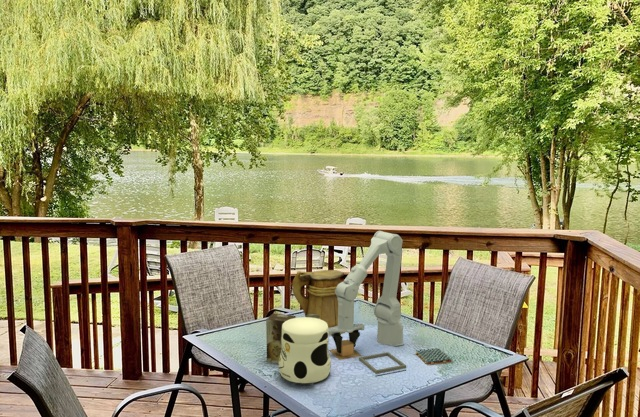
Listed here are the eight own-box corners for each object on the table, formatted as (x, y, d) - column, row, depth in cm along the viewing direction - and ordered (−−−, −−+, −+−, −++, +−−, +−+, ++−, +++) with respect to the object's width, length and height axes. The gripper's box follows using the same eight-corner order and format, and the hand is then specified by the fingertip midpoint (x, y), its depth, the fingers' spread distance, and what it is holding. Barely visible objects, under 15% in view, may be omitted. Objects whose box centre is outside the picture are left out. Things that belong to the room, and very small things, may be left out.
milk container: (268, 374, 172) (268, 322, 170) (310, 361, 183) (310, 312, 180) (298, 394, 158) (298, 339, 156) (341, 379, 169) (342, 327, 167)
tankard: (351, 337, 205) (352, 277, 202) (292, 338, 203) (292, 277, 200) (345, 321, 223) (346, 265, 219) (291, 322, 221) (292, 266, 218)
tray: (387, 357, 187) (388, 352, 187) (406, 370, 176) (406, 365, 176) (358, 362, 182) (358, 357, 182) (375, 376, 171) (375, 371, 171)
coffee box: (296, 358, 184) (296, 315, 182) (289, 366, 178) (289, 321, 176) (273, 355, 187) (273, 312, 185) (265, 362, 181) (265, 318, 179)
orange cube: (347, 349, 190) (348, 339, 190) (353, 354, 186) (353, 344, 186) (336, 351, 189) (337, 341, 188) (342, 356, 184) (342, 345, 184)
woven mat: (427, 367, 180) (427, 361, 180) (413, 355, 190) (414, 349, 190) (453, 364, 183) (453, 358, 183) (439, 352, 193) (439, 347, 193)
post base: (350, 349, 193) (350, 339, 193) (361, 358, 185) (361, 348, 185) (328, 352, 190) (328, 343, 189) (339, 362, 182) (339, 352, 181)
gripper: (332, 321, 179) (331, 358, 181) (368, 316, 185) (367, 352, 187) (324, 315, 185) (323, 350, 187) (359, 310, 191) (358, 345, 193)
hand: (345, 351), depth 187 cm, fingers closed on orange cube, 4 cm apart
